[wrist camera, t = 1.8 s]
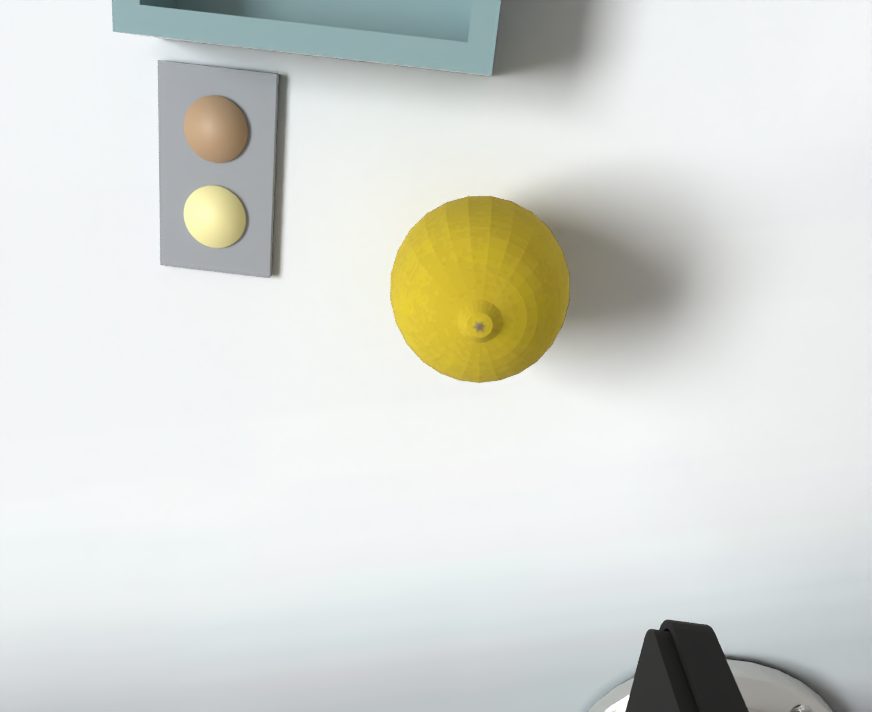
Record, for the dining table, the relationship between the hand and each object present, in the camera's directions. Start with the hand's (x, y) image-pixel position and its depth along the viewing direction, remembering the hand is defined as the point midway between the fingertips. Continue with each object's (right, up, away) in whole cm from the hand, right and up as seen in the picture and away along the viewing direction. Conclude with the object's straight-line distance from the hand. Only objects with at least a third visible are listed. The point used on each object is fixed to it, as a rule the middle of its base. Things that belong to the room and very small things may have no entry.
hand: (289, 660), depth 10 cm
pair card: (-6, +10, +17) cm, 21 cm away
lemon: (+4, +8, +18) cm, 20 cm away
